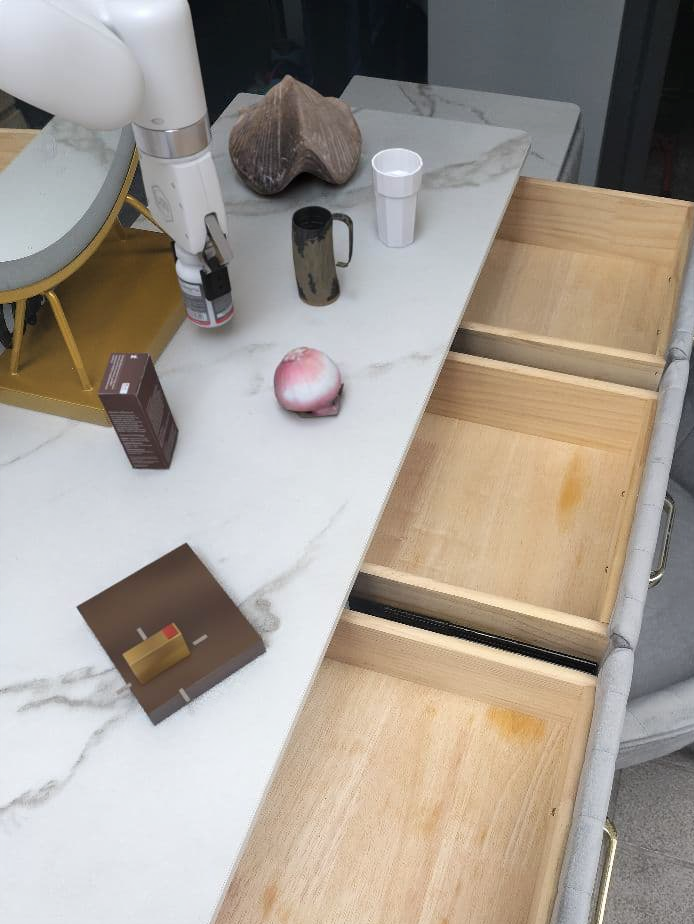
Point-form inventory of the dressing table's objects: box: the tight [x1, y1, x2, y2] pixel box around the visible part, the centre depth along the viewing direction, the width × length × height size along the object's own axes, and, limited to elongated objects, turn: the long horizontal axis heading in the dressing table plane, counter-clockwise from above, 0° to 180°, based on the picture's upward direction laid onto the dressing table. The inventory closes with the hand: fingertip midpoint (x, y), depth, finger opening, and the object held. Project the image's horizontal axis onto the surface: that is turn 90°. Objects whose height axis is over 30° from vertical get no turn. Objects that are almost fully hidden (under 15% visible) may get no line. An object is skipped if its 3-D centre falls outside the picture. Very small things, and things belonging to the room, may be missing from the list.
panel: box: [75, 542, 267, 727], centre depth 77 cm, size 15×13×3 cm
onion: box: [273, 346, 345, 418], centre depth 93 cm, size 8×8×7 cm
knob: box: [123, 623, 191, 685], centre depth 72 cm, size 5×1×4 cm, turn 128°
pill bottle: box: [175, 235, 235, 328], centre depth 96 cm, size 6×6×10 cm
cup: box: [371, 147, 424, 249], centre depth 110 cm, size 7×7×11 cm
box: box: [97, 352, 179, 470], centre depth 87 cm, size 6×4×12 cm
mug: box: [291, 205, 354, 307], centre depth 102 cm, size 8×6×12 cm
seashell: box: [228, 74, 363, 195], centre depth 119 cm, size 16×17×15 cm
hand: (203, 280), depth 96 cm, fingers closed on pill bottle, 5 cm apart
